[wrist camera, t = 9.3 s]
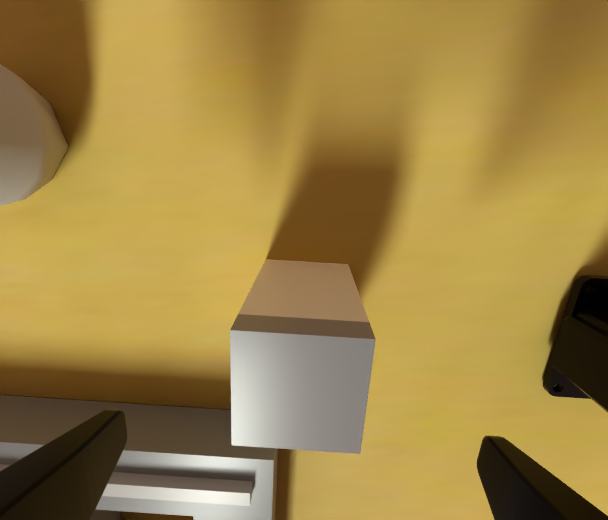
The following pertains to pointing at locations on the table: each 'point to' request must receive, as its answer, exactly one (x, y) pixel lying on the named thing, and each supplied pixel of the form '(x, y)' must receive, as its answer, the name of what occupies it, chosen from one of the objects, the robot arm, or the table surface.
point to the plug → (301, 360)
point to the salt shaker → (26, 139)
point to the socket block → (156, 458)
